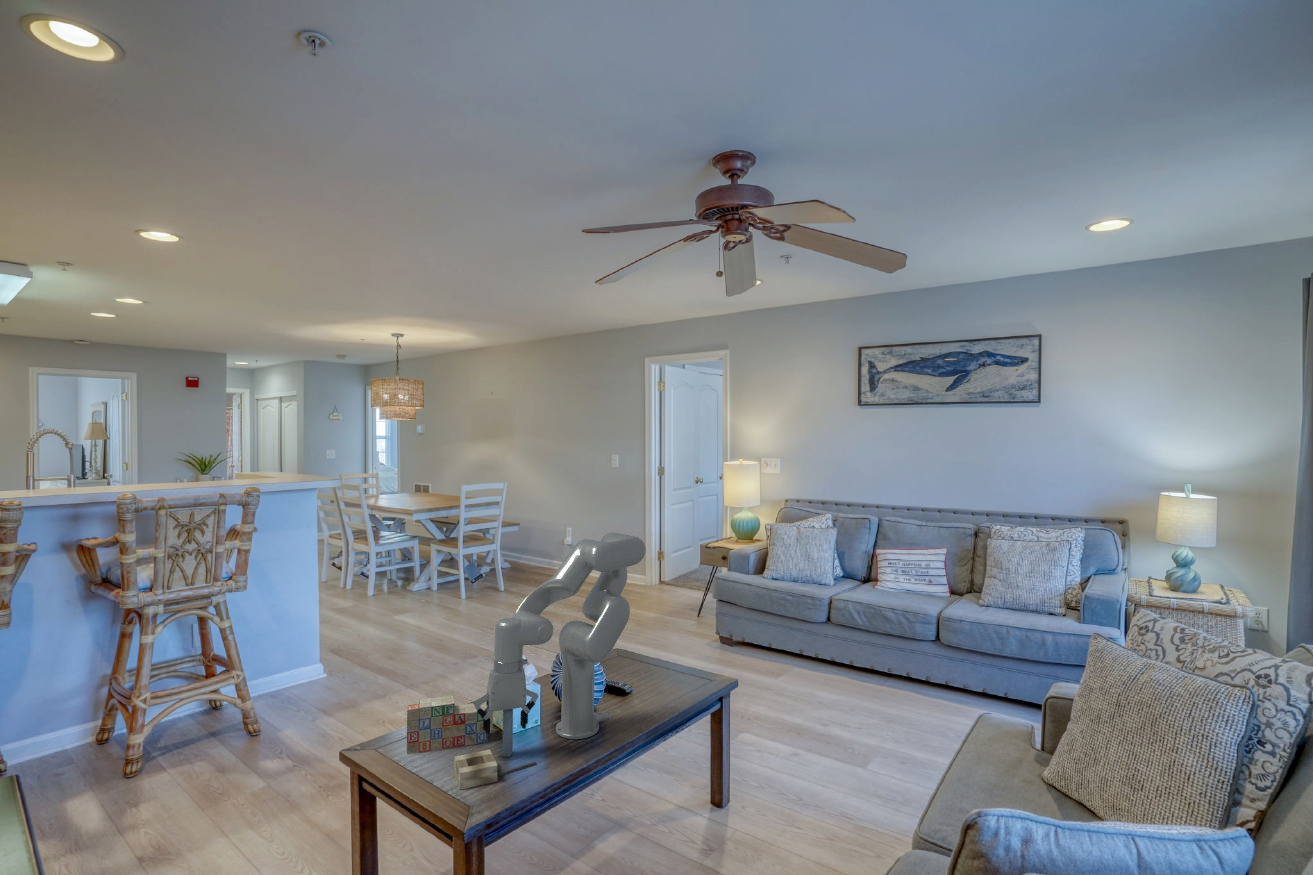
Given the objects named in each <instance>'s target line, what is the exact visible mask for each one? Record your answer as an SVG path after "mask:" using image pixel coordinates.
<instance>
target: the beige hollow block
mask: <svg viewBox="0 0 1313 875" xmlns="http://www.w3.org/2000/svg"><path fill="white" fill-rule="evenodd" d="M453 774H454V777H455V780H456V783H457V786H458V788H459V791H460V790H465V789H466V790H467V789H470V788H474V787H478V786H479V787H480V786H483V785H486V784H491V783H492V784H493V783H496V782H498V763H497V761H496V759H495V758H494V754H493V753H492V751H491V749H485V750H481V751H475V752H471V753H465V754H461V755H456V756H453Z"/></svg>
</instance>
